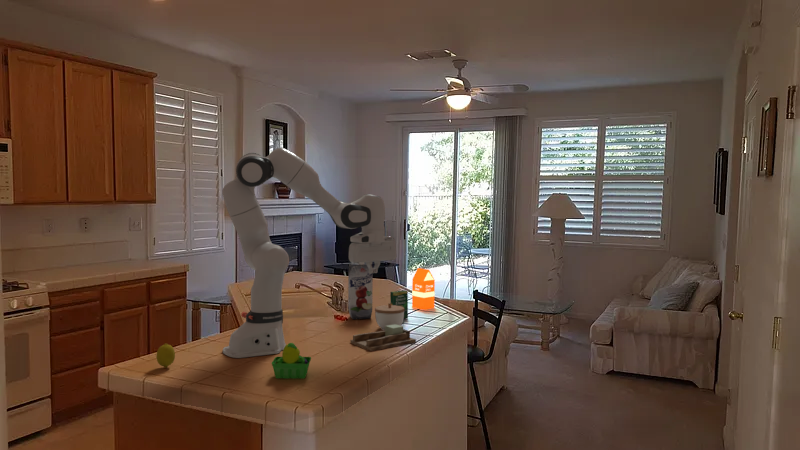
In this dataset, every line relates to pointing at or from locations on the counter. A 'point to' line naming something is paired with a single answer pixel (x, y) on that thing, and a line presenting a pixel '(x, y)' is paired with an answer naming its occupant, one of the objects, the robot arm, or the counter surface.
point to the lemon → (165, 355)
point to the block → (393, 329)
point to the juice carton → (360, 291)
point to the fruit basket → (291, 363)
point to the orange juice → (423, 289)
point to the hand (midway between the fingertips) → (373, 273)
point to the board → (381, 340)
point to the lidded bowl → (389, 315)
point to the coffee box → (400, 300)
